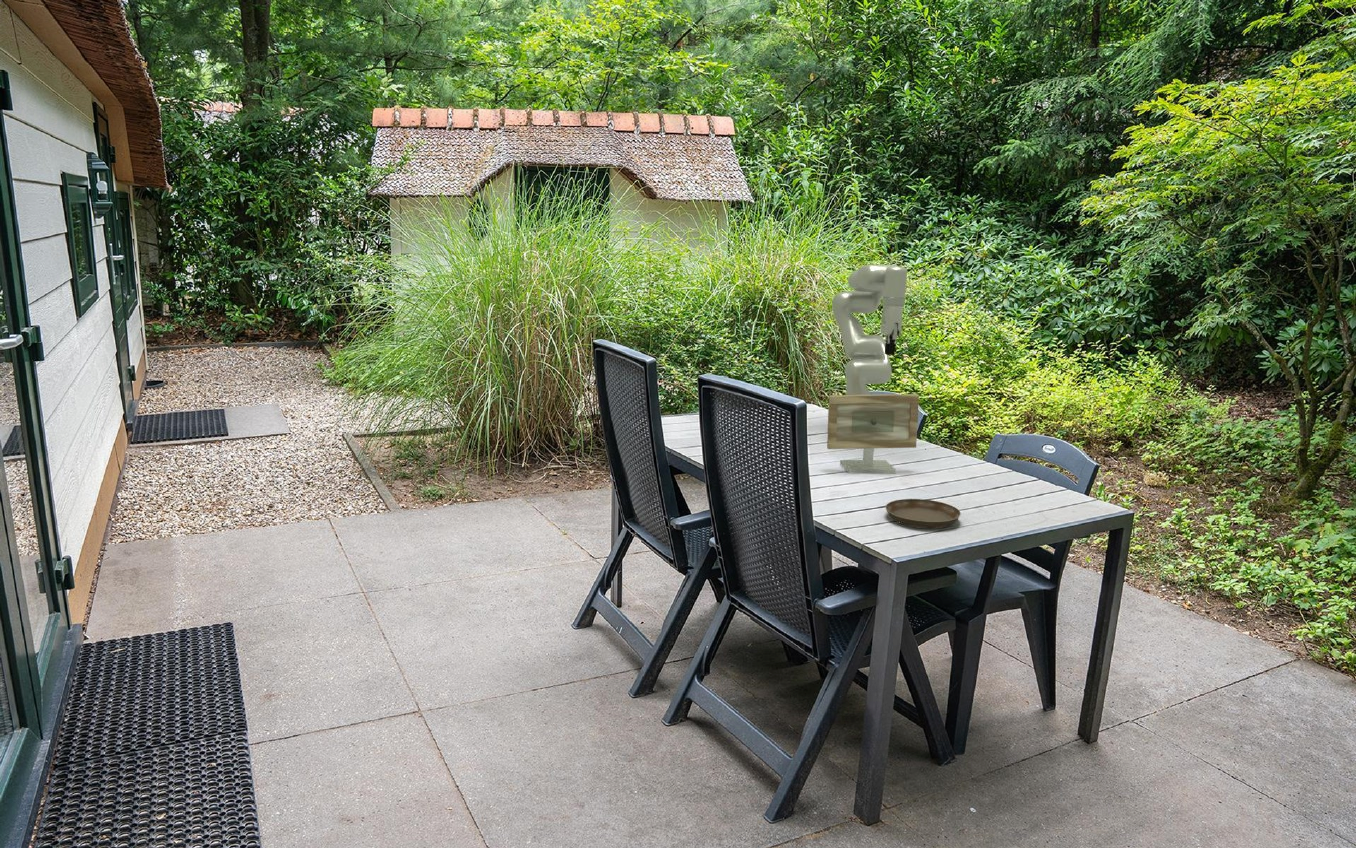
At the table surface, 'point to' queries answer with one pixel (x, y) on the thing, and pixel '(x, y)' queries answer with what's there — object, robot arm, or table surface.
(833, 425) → the picture frame
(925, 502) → the plant saucer
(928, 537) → the table surface
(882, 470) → the frame stand
